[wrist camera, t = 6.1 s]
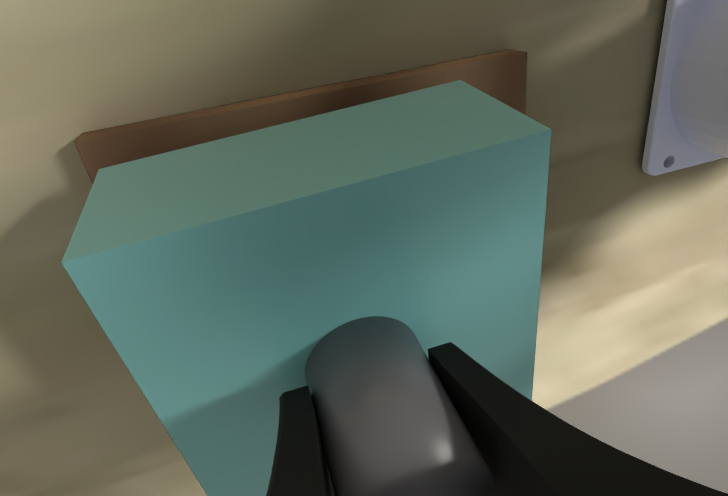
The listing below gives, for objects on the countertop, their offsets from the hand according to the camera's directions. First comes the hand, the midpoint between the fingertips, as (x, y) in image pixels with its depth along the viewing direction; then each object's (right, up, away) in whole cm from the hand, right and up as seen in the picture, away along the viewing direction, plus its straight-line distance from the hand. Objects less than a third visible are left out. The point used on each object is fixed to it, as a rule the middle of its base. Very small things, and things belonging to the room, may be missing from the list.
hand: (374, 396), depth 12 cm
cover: (-1, +3, +4) cm, 5 cm away
